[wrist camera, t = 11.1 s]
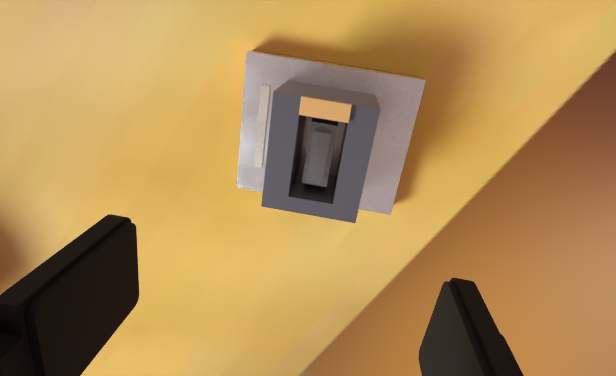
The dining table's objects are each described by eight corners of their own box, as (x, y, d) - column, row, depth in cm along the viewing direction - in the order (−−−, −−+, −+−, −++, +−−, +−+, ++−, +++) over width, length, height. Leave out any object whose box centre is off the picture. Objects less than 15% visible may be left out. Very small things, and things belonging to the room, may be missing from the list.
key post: (388, 206, 30) (397, 246, 24) (241, 180, 30) (216, 214, 24) (422, 77, 26) (442, 90, 20) (252, 50, 26) (225, 54, 21)
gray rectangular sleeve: (354, 191, 28) (355, 225, 23) (276, 177, 28) (260, 208, 23) (375, 94, 25) (380, 109, 20) (287, 80, 25) (272, 91, 20)
